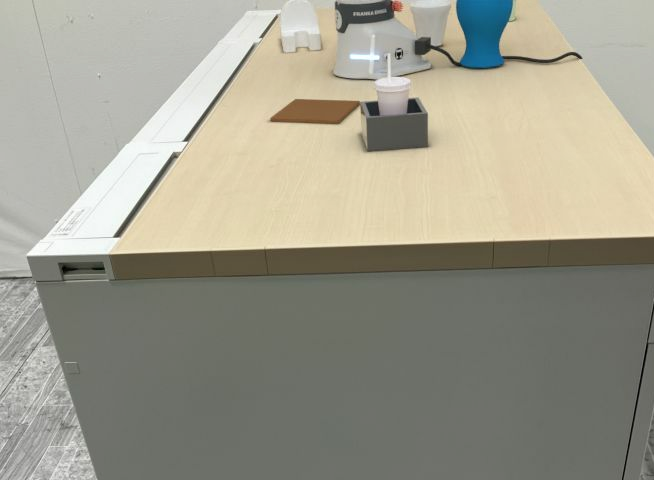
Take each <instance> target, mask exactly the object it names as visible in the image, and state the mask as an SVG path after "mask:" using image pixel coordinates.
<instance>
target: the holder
mask: <svg viewBox="0 0 654 480" xmlns="http://www.w3.org/2000/svg"><path fill="white" fill-rule="evenodd" d="M359 105H360V107H359V108H360V127H361V130H360V131H361V136H362V138H363V142H364V145H365V149H366V151H367V152H376V151H391V150H392V151H393V150H402V149H415V148H428V147H429V113H428V111H427V110H426V108H425V106H424V104H423V102H422V101H421V99H420V98H419V97H417V96H416V97H408V106H407V114H395V115H382V116H380V112H379V105H378V100H367V101H360V104H359Z"/></svg>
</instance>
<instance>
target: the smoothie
mask: <svg viewBox="0 0 654 480" xmlns="http://www.w3.org/2000/svg"><path fill="white" fill-rule="evenodd" d="M387 65H388V77H387V78H381V79H378V80H377V79H375V80H374V87H373V88H374V90H375V91H376V96H377V98H376V99H377V101H378V105H379V112H380V116H382V115H395V114H407V106H408V98H410V97H409V96H410V89H411V88H412V79H410V78H408V77H404V76H395V77H391V53H387Z"/></svg>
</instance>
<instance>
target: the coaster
mask: <svg viewBox="0 0 654 480" xmlns="http://www.w3.org/2000/svg"><path fill="white" fill-rule="evenodd" d="M360 102H361V101H360V100H346V99H345V100H344V99H343V100H342V99H340V100H339V99H308V98H295V99H293V100H292V101H291V102H290V103H288V104H287V105H285V106H284V107H282V109H281V110H279V111H278V112H276V113H275V114H274V115H272V116H271V117H270V122H282V123H283V122H284V123H309V124H310V123H311V124H334V125H335V124H337V125H339V124H340V123H341V122H342V121H343V120H345V119H346V118H347V116H349V115H350V114H351V113H352V112H353V111H354V110H356V108H357V107H358V106H359V105H360Z"/></svg>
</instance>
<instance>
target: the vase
mask: <svg viewBox="0 0 654 480" xmlns="http://www.w3.org/2000/svg"><path fill="white" fill-rule="evenodd" d="M512 8H513V0H456V2H455V13H456V17H457V21H458V23H459V25H460V27H461V30H462V32H463V35H464V39H465V50H464V53H463V55H462V57H461V58H460V60H459V63H460V64H461V65H463V66H462V67H466V68H470V69H491V68H497V67H499V66H502V65H503V64H504V63H505V60H504V59H503V57H502V56H503V55H502V53H501V50H500V42H501V38H502V35H503V33H504V32H505V29H506V27H507V25H508V23H509V22H510V21H509V19H510V16H511V13H512Z"/></svg>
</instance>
